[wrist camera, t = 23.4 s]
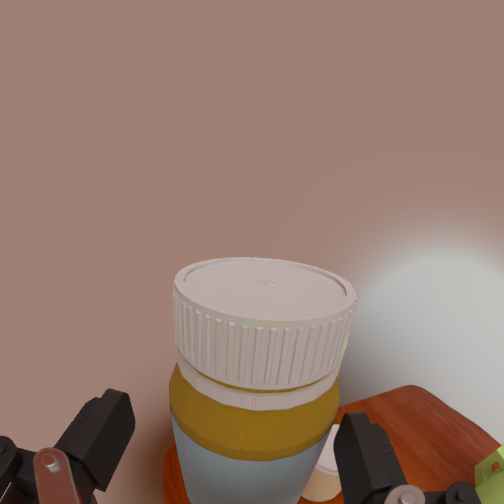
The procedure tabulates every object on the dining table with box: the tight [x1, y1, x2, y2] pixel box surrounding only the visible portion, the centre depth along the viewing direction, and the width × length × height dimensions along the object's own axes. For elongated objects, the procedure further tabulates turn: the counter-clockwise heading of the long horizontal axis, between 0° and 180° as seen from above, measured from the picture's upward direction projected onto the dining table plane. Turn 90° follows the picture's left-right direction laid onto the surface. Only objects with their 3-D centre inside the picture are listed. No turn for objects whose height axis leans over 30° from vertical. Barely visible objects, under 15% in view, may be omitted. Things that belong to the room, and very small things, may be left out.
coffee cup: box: [301, 425, 342, 502], centre depth 31 cm, size 9×9×12 cm
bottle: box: [169, 257, 356, 504], centre depth 11 cm, size 7×7×15 cm
